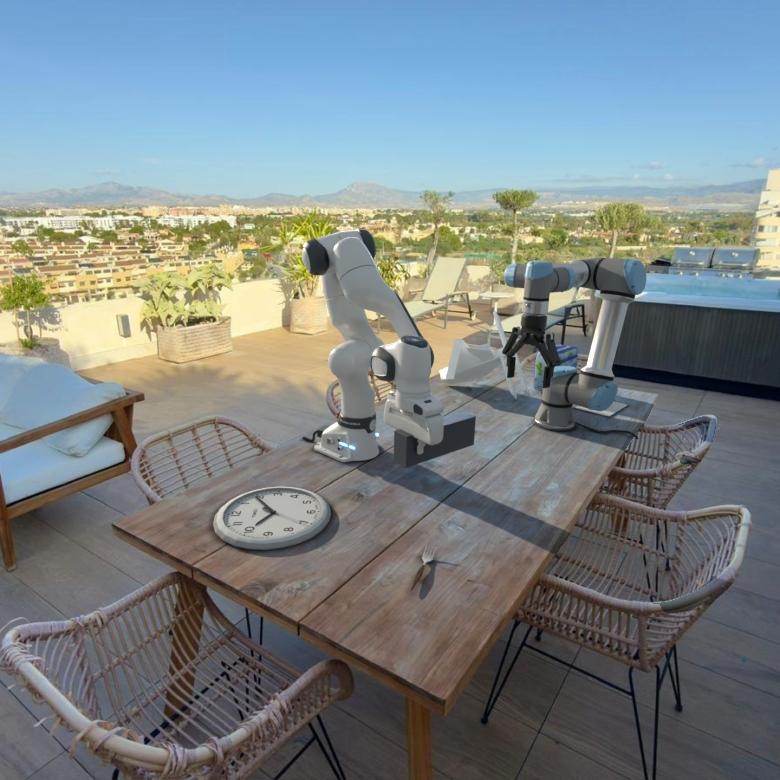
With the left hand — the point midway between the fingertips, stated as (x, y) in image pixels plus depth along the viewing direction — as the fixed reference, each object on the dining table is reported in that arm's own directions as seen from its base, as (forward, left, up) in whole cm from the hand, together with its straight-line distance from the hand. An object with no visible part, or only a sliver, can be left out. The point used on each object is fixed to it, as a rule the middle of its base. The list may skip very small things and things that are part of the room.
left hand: (411, 449), depth 138 cm
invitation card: (+30, +118, -17) cm, 123 cm away
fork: (+16, -23, -17) cm, 33 cm away
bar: (+3, +8, -3) cm, 10 cm away
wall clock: (-27, -24, -17) cm, 40 cm away
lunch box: (+6, +133, -17) cm, 134 cm away
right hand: (+17, +44, +11) cm, 48 cm away
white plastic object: (-22, +108, -17) cm, 112 cm away
